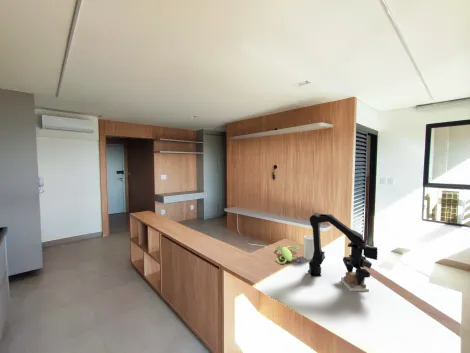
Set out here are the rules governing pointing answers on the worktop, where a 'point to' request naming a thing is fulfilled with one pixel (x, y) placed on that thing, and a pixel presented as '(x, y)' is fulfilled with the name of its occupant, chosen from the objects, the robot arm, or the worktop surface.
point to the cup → (308, 247)
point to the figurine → (287, 254)
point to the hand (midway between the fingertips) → (354, 280)
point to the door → (352, 279)
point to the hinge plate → (355, 288)
